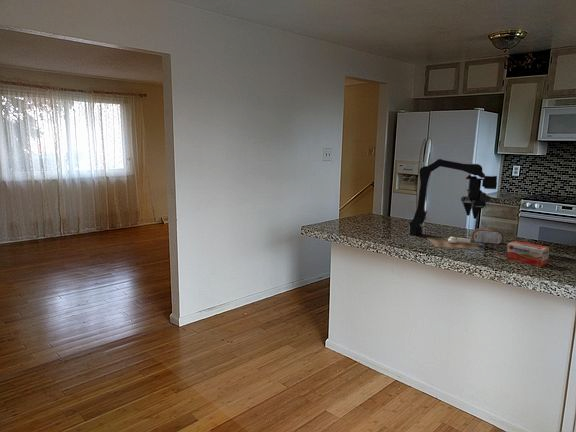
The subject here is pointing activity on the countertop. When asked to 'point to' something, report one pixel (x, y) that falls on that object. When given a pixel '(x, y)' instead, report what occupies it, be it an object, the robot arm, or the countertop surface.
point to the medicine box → (527, 253)
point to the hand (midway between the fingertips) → (471, 217)
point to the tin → (487, 236)
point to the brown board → (444, 243)
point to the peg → (454, 240)
